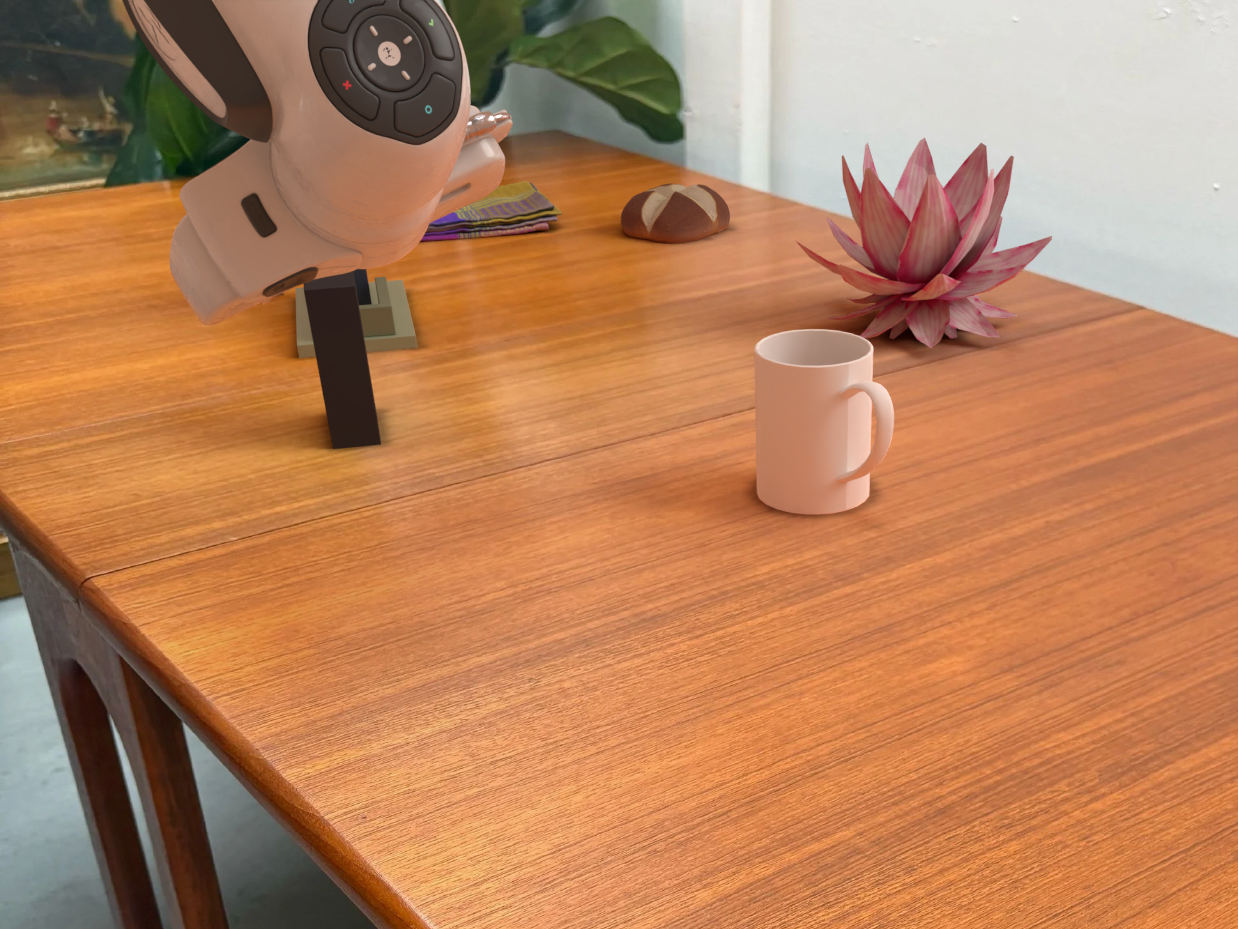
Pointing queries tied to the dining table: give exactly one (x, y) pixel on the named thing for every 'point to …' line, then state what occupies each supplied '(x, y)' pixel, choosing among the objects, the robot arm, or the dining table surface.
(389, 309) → the mount
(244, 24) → the robot arm
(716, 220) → the bread
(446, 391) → the dining table surface
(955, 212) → the decorative flower
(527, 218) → the dish towel
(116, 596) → the dining table surface
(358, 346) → the block
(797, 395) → the mug
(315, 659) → the dining table surface
